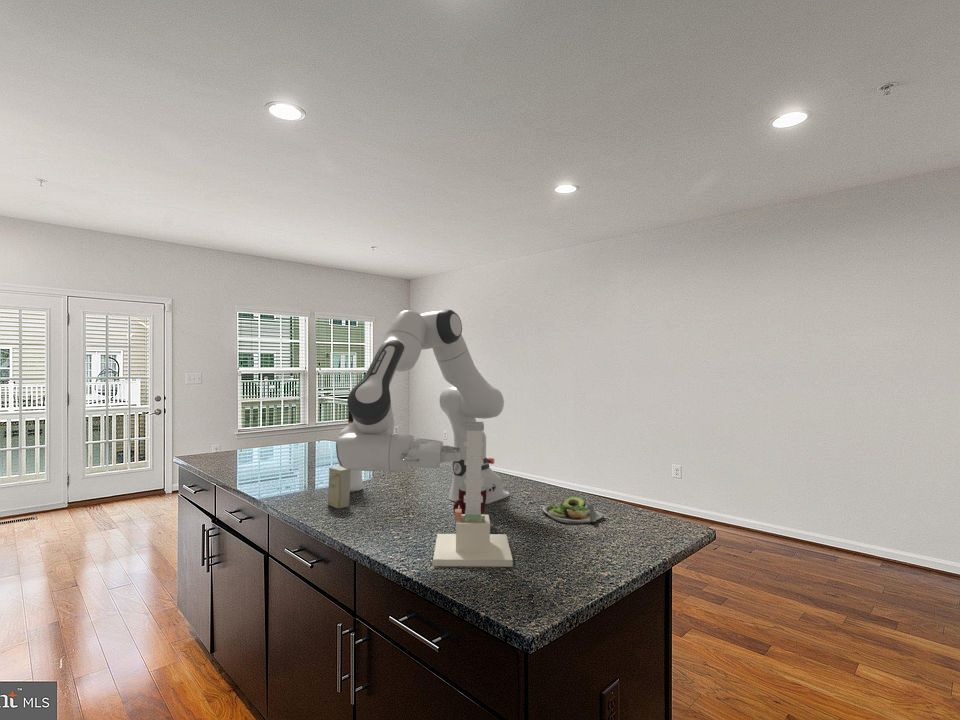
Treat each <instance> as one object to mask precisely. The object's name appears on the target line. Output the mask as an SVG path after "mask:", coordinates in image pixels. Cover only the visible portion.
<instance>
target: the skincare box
mask: <svg viewBox="0 0 960 720" xmlns="http://www.w3.org/2000/svg"><path fill="white" fill-rule="evenodd" d="M328 471H329V472H328V488H327V489H328V491H327V492H328V493H327V506H329V505H330V507H333V508H336V509H343V508H346V507H349V506H350V494H351V492H350V475H351V470H350V469H346V468H343V467H341V466H339V465H338V466H333V467H331V466H330V467H329V469H328Z"/></svg>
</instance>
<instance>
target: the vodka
mask: <svg viewBox="0 0 960 720" xmlns="http://www.w3.org/2000/svg"><path fill="white" fill-rule="evenodd" d="M347 408H348V407H347ZM347 414H348V415H347V417H348V418H347V420H348V421H347V426H346V427H344V428H343V429H341V431H340V432H339V437H340V436H342V435H343V434H344V433H345V432H346V431H347V430H348V429H349V427H350V426H351V425H352V423H353V421H354V420H353V416H352V414H351V412H350V410H349V408H348V412H347ZM338 466H341V465H340V463H339V462H338ZM341 467H342V466H341ZM362 474H363V471H358V470H351V475H350V493H355V491H357V492H360V491H361V490H363V488H364V481H363V475H362Z"/></svg>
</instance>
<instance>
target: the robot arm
mask: <svg viewBox="0 0 960 720" xmlns="http://www.w3.org/2000/svg"><path fill="white" fill-rule="evenodd" d="M462 332H463V324H462V320H461V318H460V316H459V315H458V314H457V313H456V312H455V311H454V310H452V309H439V310H433V311H427V312H423V313H419V312H417V311H415V310H411V309H409V310H408V309H406V310H403V311H400V312H399V313H397V315H395V317H394V318H393V320H392V322H391V323H390V325H389V327H388V328H387V331H386V332H385V335H384V337H383V340H382V342H381V345H380V346H379V348H378V350H377V352H376V354H375V356H374V357H373V359H372V361H371V364H370V366H369V368H367V371H366V373H365V375H364V377H362V379H361V380H360V381H359V382H358V383H357V384H356V385H354V387H353V388H352V389H351V390H350V392H349V394H348V396H347V401H346V402H347V408H349V410H350V412H351V414H352V416H353V420H354V421H353V423H352V425H351V426H350V427H349V429H348V430H347V431H346V432H345V433H344V434H343V435H342V436H340V435H339V436H338V437H337V439H336V442H335V449H336V450H335V453H336V458H337V461H338V464H339V463H340V465H341V466H342V467H343V468H346V469H350V470H358V471H362V472H375V471H379V470H382V471H385V472H386V471H387V472H407V473H408V472H411V470H412V468H421V469H439V468H440V467H441V463H443V464H444V463H451V462H452V471H453V473H452V479H451V485H450V486H451V487H450V491H449V495H448V500H450V501H452V502H454V503H455V502H456V501H457V500H459V488H460V487H462V486H466V484H464V477H466V465H464V459H467V446H465V440H467V431H465V423H466V422H477V420H476V419H481V420H483V419H491V418H497V417H499V416H500V415H501V414H502V411H504V406H505V400H504V395H503V393H502V392H501V391H500V390H499V389H497V388H496V387H494V386H493V385H492V384H490V383H489V382H488V381H487V379H485V378H484V376H483V375H482V374H481V373H480V372H479V370H478V368H477V367H476V365H475V364H474V361H473V359H472V355H471V354H470V351H469V349H468V346H467V343H466V341H465V339H464V337H463V335H462ZM429 349H432V353H433V354H434V357H435V359H436V361H437V364H438V366H439V369H440V372H441V375H442V377H443V378H444V380H445V381H446V382H447V383H448V384H449V385H451V386H448V387H445V388H444V389H443V390H442V391H441V393H440V395H439V406H440V409H441V410H442V412H444V414H445V415H446V416H447V418H448V420H449V423H450V425H451V429H452V433H453V446H450V445H444V442H443V441H442V440H439V439H438V440H437V439H427V438H415V436H414V435H412V434H393V433H394V429H395V419H394V414H393V408H392V400H391V391H390V386H391V383H392V381H393V378H394V376H395V374H396V372H401V373H402V372H407V371H409V370H412V369H413V368H414V367H415V365H416V363H417V362H418V360H419V357H420V356H421V352H422V351H423V350H429ZM482 441H484V447H482V459H483V461H484V462H483V465H481V477H483V484H481V486H482V487H485V488H486V503H485V505H488V504H492V503H494V502H497V501H501V500H502V499H505V498H508V497H510V496H511V494H510V492H509V491H508V490H504V482H503V479H502V477H501V476H499V474H497V473H496V472H495V471H494V470H493V469H491V467H490V465H494V464H495V459H494V457H493V458H492V457H488V458H487V435H486V433H485V431H482Z"/></svg>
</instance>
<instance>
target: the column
mask: <svg viewBox="0 0 960 720" xmlns="http://www.w3.org/2000/svg"><path fill="white" fill-rule="evenodd" d="M465 431H467V440H465V446H467V459H464V465H466V477H464V484H466V495H464V503H466V510H465V522H480V520H481V503H483V496H481V484H483V477H481V465H483V462H484V461H483V459H482V447H484V441H482V431H483V432H485V424H484V421H476V422H466V423H465Z"/></svg>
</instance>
